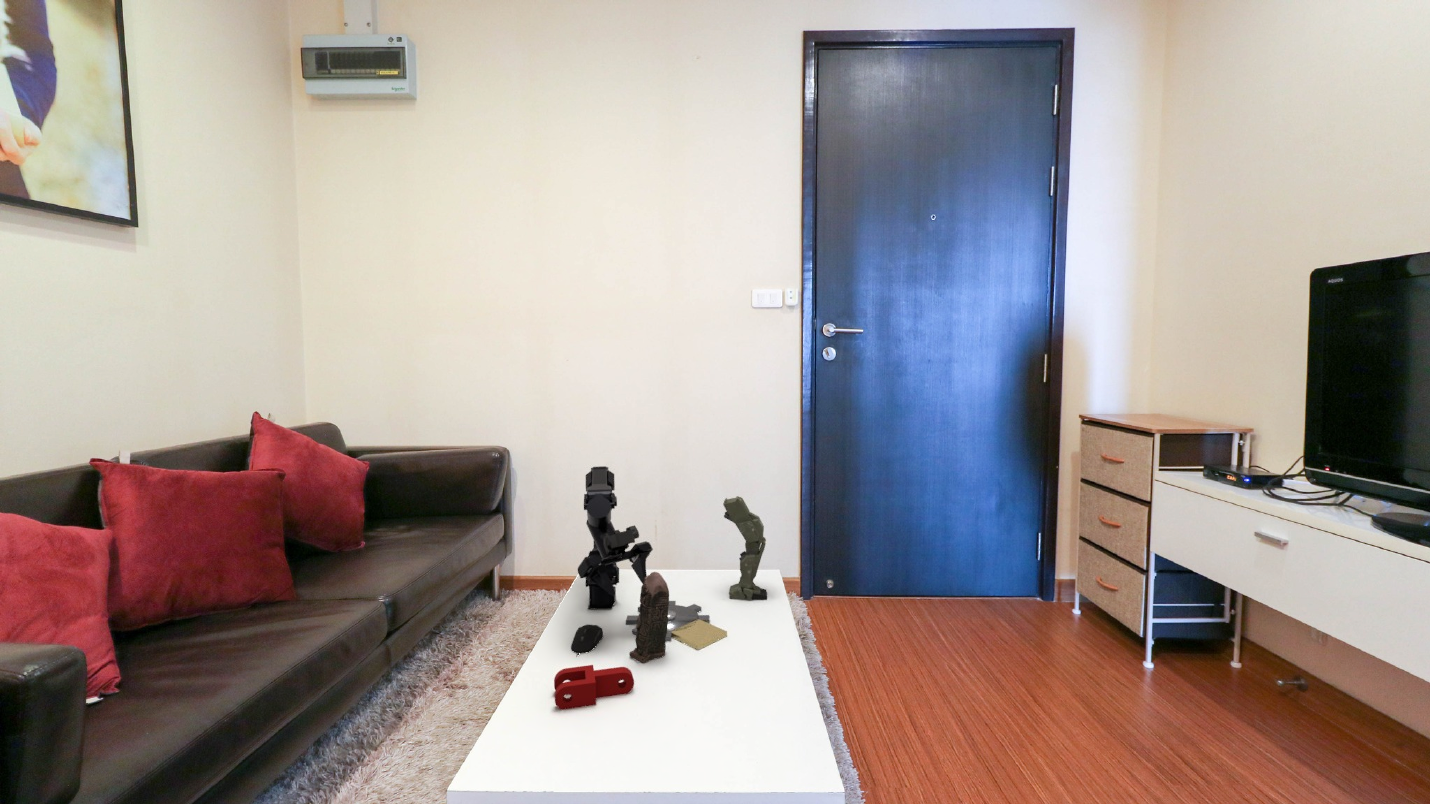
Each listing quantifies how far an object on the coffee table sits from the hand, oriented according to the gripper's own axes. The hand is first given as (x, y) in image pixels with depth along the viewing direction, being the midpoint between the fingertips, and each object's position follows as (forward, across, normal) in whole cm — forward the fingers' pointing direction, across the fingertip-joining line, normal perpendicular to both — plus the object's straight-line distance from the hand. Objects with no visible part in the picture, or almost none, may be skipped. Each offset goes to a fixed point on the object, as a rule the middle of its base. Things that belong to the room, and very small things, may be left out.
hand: (630, 590), depth 151 cm
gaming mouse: (+5, -8, +16) cm, 18 cm away
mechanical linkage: (+19, -18, +1) cm, 26 cm away
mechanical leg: (+8, +41, +11) cm, 43 cm away
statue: (+15, 0, +4) cm, 16 cm away
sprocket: (+9, +14, +10) cm, 20 cm away
